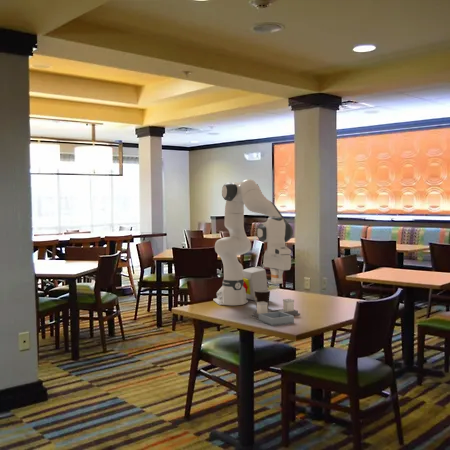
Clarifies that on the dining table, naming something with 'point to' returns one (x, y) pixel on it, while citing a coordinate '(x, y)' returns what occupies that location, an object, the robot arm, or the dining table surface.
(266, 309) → the fuse
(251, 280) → the electrical switch box
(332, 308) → the dining table surface
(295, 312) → the holder
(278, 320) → the tray
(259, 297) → the coffee mug
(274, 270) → the fuse marked
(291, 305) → the fuse
